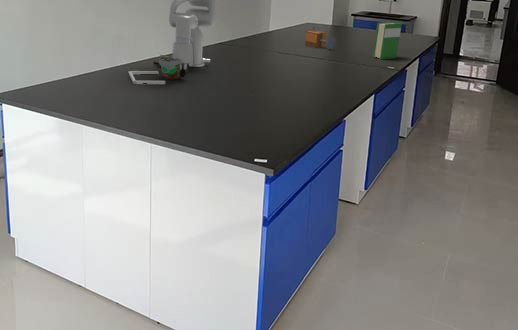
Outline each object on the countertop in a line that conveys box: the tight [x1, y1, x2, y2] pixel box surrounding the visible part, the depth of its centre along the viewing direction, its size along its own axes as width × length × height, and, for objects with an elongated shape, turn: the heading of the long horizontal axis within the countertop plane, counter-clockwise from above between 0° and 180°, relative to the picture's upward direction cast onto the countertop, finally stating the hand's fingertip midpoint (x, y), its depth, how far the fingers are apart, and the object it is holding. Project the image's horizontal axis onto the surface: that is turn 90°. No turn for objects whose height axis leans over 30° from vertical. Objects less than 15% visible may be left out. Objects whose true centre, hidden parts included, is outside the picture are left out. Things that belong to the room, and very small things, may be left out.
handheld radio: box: [153, 54, 189, 73], centre depth 311 cm, size 7×3×25 cm
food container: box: [158, 56, 181, 81], centre depth 286 cm, size 12×6×10 cm, turn 62°
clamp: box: [304, 26, 336, 50], centre depth 417 cm, size 11×20×14 cm, turn 46°
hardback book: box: [371, 21, 403, 60], centre depth 395 cm, size 18×7×24 cm, turn 130°
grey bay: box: [128, 70, 166, 85], centre depth 284 cm, size 15×22×2 cm
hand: (182, 76), depth 290 cm, fingers closed
